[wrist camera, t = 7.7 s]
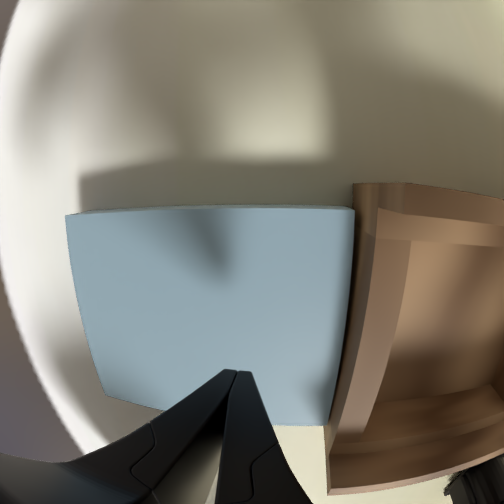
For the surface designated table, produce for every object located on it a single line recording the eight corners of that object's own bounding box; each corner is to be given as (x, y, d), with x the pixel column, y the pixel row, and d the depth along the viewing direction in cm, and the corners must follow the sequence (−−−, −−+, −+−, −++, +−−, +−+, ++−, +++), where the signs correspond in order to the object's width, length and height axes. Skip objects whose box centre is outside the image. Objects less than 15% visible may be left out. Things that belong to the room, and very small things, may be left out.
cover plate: (342, 205, 11) (354, 210, 9) (323, 394, 14) (326, 425, 11) (95, 209, 13) (64, 215, 11) (123, 372, 15) (105, 395, 13)
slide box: (537, 212, 9) (604, 229, 4) (487, 393, 12) (521, 443, 7) (353, 183, 11) (405, 182, 5) (322, 414, 13) (327, 495, 8)
